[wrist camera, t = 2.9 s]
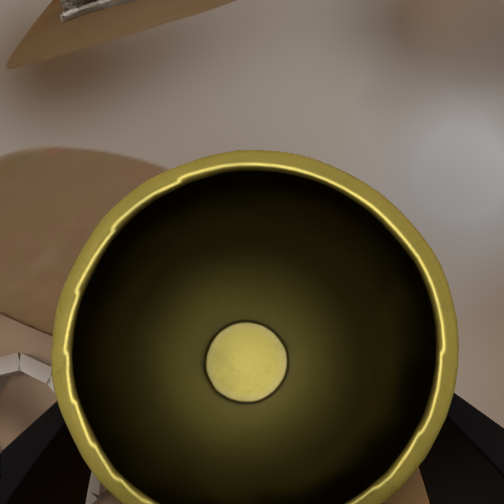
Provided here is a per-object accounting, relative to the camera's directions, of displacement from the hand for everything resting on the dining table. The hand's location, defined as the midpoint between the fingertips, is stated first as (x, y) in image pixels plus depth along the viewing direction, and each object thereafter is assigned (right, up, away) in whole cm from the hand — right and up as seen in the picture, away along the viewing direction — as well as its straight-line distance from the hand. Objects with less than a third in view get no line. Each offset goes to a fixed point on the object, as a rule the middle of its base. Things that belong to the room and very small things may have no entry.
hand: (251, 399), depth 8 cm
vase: (0, -2, +9) cm, 9 cm away
